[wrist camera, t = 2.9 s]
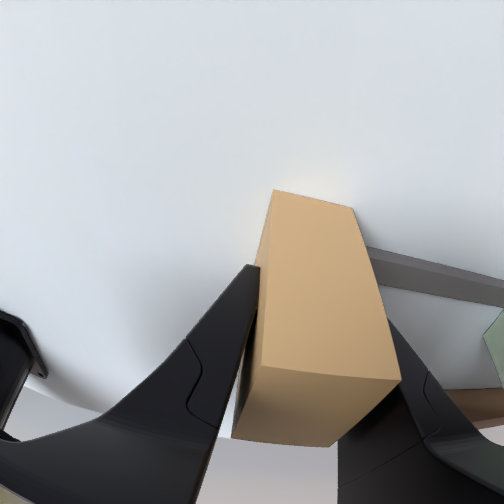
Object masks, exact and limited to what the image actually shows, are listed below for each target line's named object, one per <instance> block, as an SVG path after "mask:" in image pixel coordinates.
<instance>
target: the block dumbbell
mask: <svg viewBox="0 0 504 504" xmlns="http://www.w3.org/2000/svg"><path fill="white" fill-rule="evenodd" d="M254 266H259V267H260V268H261V270H260V291H259V302H258V305H257V309H256V312H255V316H254V319H253V322H252V326H251V329H250V332H249V336H248V339H247V342H246V346H245V349H244V352H243V356H242V359H241V363H240V371H239V379H238V386H237V394H236V402H235V410H234V417H233V425H232V433H231V438H233V439H240V440H247V441H254V442H263V443H272V444H283V445H294V446H309V447H330V446H331V445H332V444H334V443H335V442H336V441H337V440H338V439H340V438H341V437H342V436H343V435H344V434H345V433H347V432H348V431H349V430H350V429H351V428H352V427H353V426H355V425H356V424H357V423H358V422H359V421H360V420H361V419H362V418H363V417H365V416H366V415H367V414H368V413H369V412H370V411H371V410H372V409H373V408H374V407H375V406H376V405H377V404H378V403H379V402H380V401H381V400H382V399H384V398H385V397H386V396H387V395H388V394H389V393H390V392H391V391H392V390H393V389H394V388H395V386H396V385H397V384H398V383H399V382H400V381H401V380H402V379H401V374H400V370H399V365H398V361H397V356H396V352H395V348H394V344H393V340H392V336H391V332H390V328H389V324H388V321H387V317H386V313H385V310H384V306H383V302H382V299H381V295H380V292H379V289H378V285H377V284H380V285H385V286H391V287H396V288H401V289H406V290H412V291H417V292H422V293H427V294H433V295H438V296H443V297H449V298H454V299H459V300H465V301H470V302H475V303H481V304H486V305H492V306H497V307H502V308H504V280H500V279H496V278H492V277H488V276H485V275H481V274H477V273H473V272H469V271H465V270H461V269H457V268H453V267H449V266H446V265H441V264H437V263H433V262H429V261H425V260H421V259H417V258H413V257H409V256H405V255H400V254H396V253H392V252H388V251H383V250H379V249H375V248H370V247H366V246H365V244H364V241H363V238H362V235H361V232H360V229H359V226H358V224H357V221H356V218H355V215H354V212H353V210H352V208H350V207H346V206H342V205H338V204H334V203H330V202H325V201H321V200H317V199H313V198H308V197H304V196H300V195H295V194H291V193H286V192H282V191H277V190H273V192H272V196H271V201H270V205H269V209H268V213H267V217H266V221H265V225H264V229H263V233H262V237H261V241H260V245H259V249H258V253H257V257H256V261H255V265H254ZM483 338H484V340H485V342H486V345H487V347H488V349H489V352H490V354H491V357H492V359H493V362H494V364H495V367H496V370H497V372H498V375H499V378H500V380H501V383H502V386H503V389H504V310H503V312H502V313H501V314H500V315H499V317H498V318H497V319H496V320H495V322H494V323H493V324H492V325H491V327H490V328H489V329H488V330H487V331H486V332H485V334H484V335H483Z"/></svg>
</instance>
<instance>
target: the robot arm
mask: <svg viewBox="0 0 504 504" xmlns="http://www.w3.org/2000/svg"><path fill="white" fill-rule="evenodd" d="M260 270H261V268H260V267H259V266H254V265H249V264H247V265H245V266H244V267H243V269H242V270H241V271H240V272H239V273H238V275H237V276H236V277H235V278H234V279H233V281H232V282H231V283H230V284H229V285H228V287H227V288H226V289H225V290H224V291H223V293H222V294H221V295H220V296H219V297H218V299H217V300H216V301H215V302H214V303H213V305H212V306H211V307H210V308H209V310H208V311H207V312H206V313H205V314H204V316H203V317H202V318H201V319H200V320H199V322H198V323H197V324H196V325H195V326H194V327H193V329H192V330H191V331H190V332H189V333H188V335H187V336H186V339H183V340H182V342H181V343H180V344H179V345H178V346H177V348H176V349H175V350H174V351H173V352H172V353H171V354H170V355H169V356H168V358H167V359H166V360H165V361H164V362H163V363H162V364H161V365H160V366H159V367H158V368H157V369H156V370H155V371H153V372H152V373H151V374H150V375H149V376H148V377H147V378H146V379H145V380H144V381H142V382H141V383H140V384H139V385H138V386H137V387H136V388H134V389H133V390H132V391H131V392H130V393H129V394H128V395H126V396H125V397H124V398H123V399H122V400H121V401H120V402H118V403H117V404H116V405H115V406H114V407H112V408H111V409H110V410H109V411H107V412H106V413H104V414H103V415H101V416H99V417H98V418H96V419H93V420H92V421H89V422H86V423H83V424H80V425H77V426H74V427H71V428H68V429H65V430H62V431H59V432H56V433H52V434H49V435H46V436H43V437H39V438H36V439H33V440H28V441H23V442H21V441H20V440H18V439H15V438H13V437H12V436H10V435H9V434H7V433H6V432H5V431H3V430H4V427H5V425H6V423H7V420H8V418H9V416H10V413H11V411H12V409H13V407H14V405H15V402H16V400H17V398H18V396H19V394H20V392H21V390H22V388H23V385H24V383H25V381H26V379H27V377H28V375H29V373H32V374H34V375H36V376H38V377H41V378H43V379H46V378H47V376H48V372H47V370H46V369H45V367H44V365H43V363H42V361H41V360H40V358H39V356H38V354H37V352H36V350H35V348H34V346H33V344H32V343H31V341H30V339H29V337H28V335H27V333H26V330H25V328H24V326H23V325H22V323H21V322H20V321H19V320H17V319H16V318H14V317H11V316H9V315H6V314H4V313H2V312H0V504H196V501H197V497H198V494H199V491H200V488H201V486H202V482H203V479H204V476H205V473H206V470H207V467H208V464H209V461H210V458H211V455H212V451H213V449H214V446H215V442H216V439H217V436H218V433H219V430H220V427H221V424H222V420H223V417H224V414H225V411H226V408H227V404H228V401H229V398H230V395H231V392H232V388H233V385H234V382H235V379H236V375H237V372H238V369H239V366H240V362H241V359H242V356H243V352H244V349H245V346H246V342H247V339H248V336H249V332H250V329H251V326H252V322H253V319H254V316H255V312H256V309H257V305H258V302H259V291H260ZM386 317H387V316H386ZM387 321H388V324H389V328H390V332H391V336H392V340H393V344H394V348H395V352H396V356H397V361H398V365H399V370H400V374H401V379H402V380H401V381H400V382H399V383H398V384H397V385H396V386H395V388H394V389H393V390H392V391H391V392H390V393H389V394H388V395H387V396H386V397H385V398H384V399H382V400H381V401H380V402H379V403H378V404H377V405H376V406H375V407H374V408H373V409H372V410H371V411H370V412H369V413H368V414H367V415H366V416H365V417H363V418H362V419H361V420H360V421H359V422H358V423H357V424H356V425H355V426H353V427H352V428H351V429H350V430H349V431H348V432H347V433H345V434H344V435H343V436H342V437H341V438H340V439H338V500H337V501H338V502H337V504H504V446H501V445H498V444H495V443H493V442H491V441H490V440H488V439H487V438H485V437H484V436H483V435H482V434H481V433H480V432H479V431H478V429H477V428H476V427H475V426H474V425H473V424H472V422H471V421H470V420H469V419H468V418H467V417H466V415H465V414H464V413H463V412H462V411H461V410H460V408H459V407H458V406H457V405H456V404H455V403H454V401H453V400H452V399H451V398H450V397H449V395H448V394H447V393H446V392H445V390H444V389H443V388H442V387H441V385H440V384H439V383H438V381H437V380H436V379H435V378H434V376H433V375H432V374H431V372H430V371H428V368H427V367H426V366H425V365H424V363H423V362H422V361H421V359H420V358H419V357H418V355H417V354H416V353H415V352H414V350H413V349H412V348H411V346H410V345H409V344H408V343H407V341H406V340H405V339H404V338H403V336H402V335H401V334H400V333H399V331H398V330H397V329H396V328H395V326H394V325H393V324H392V323H391V321H390V320H389V319H388V318H387Z"/></svg>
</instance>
